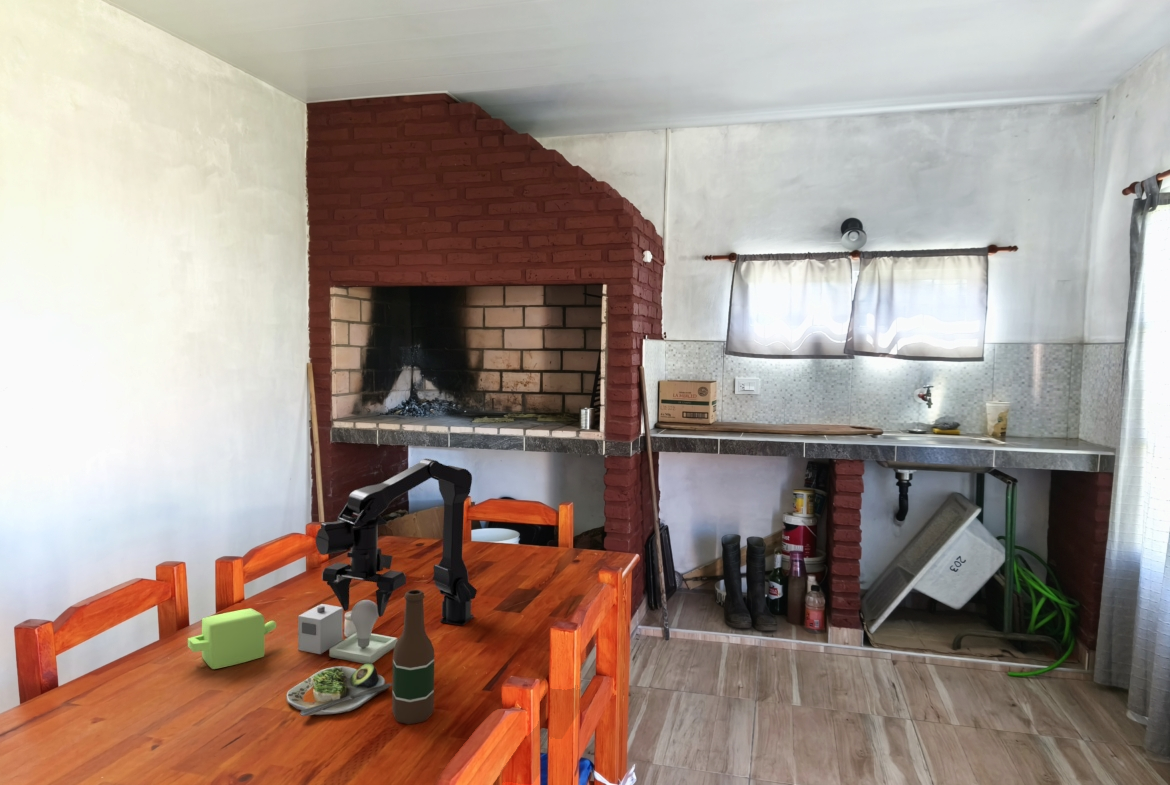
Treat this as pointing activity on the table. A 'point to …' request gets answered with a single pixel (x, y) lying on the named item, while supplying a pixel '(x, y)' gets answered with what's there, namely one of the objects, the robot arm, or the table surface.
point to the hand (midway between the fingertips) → (363, 613)
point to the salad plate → (337, 690)
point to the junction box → (320, 628)
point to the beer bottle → (413, 666)
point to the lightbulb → (364, 620)
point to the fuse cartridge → (349, 625)
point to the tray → (363, 655)
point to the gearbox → (232, 638)
